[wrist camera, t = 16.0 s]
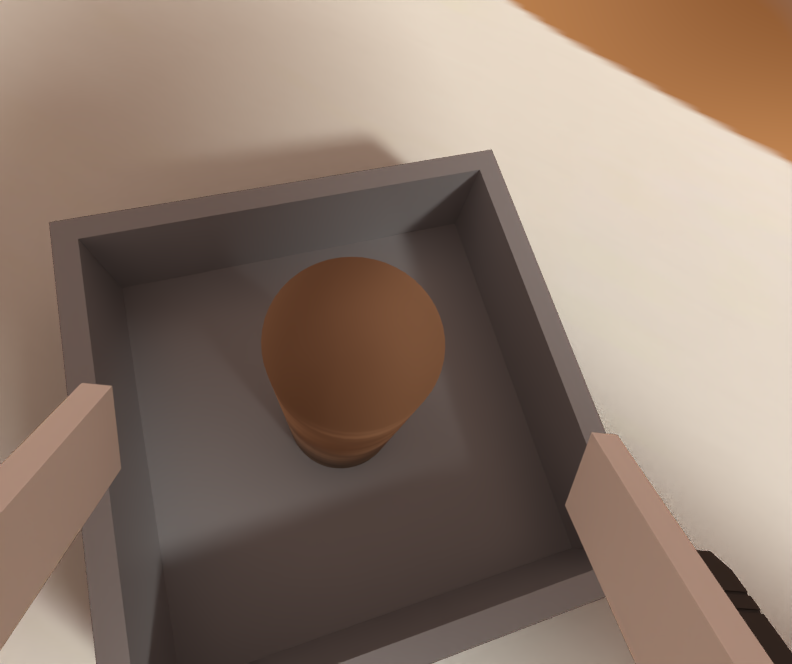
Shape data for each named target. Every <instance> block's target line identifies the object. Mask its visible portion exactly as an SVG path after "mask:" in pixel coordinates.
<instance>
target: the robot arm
mask: <svg viewBox="0 0 792 664" xmlns="http://www.w3.org/2000/svg"><path fill="white" fill-rule="evenodd" d="M120 470H121V462H120V453H119V444H118V435H117V426H116V417H115V408H114V399H113V390H112V386H108V385H98V384H88V383H81V384H80V385H79V386H78V387H77V388H76V389H75V390H74V391H73V392H72V393H71V394H70V395H69V396H68V397H67V398H66V399H65V400H64V401H63V402H62V403H61V404H60V405H59V406H58V407H57V408H56V409H55V410H54V411H53V412H52V413H51V414H50V415H49V416H48V417H47V418H46V419H45V420H44V421H43V423H42V424H41V425H40V426H39V427H38V428H37V429H36V430H35V431H34V432H33V433H32V434H31V435H30V436H29V437H28V438H27V439H26V440H25V441H24V442H23V443H22V444H21V445H20V446H19V447H18V448H17V449H16V450H15V451H14V452H13V453H12V454H11V455H10V456H9V457H8V458H7V459H6V460H5V461H4V462H3V463H2V464H1V465H0V650H1V649H2V647H3V646H4V644H5V643H6V641H7V640H8V638H9V637H10V635H11V634H12V632H13V631H14V629H15V628H16V626H17V625H18V623H19V622H20V620H21V619H22V617H23V616H24V614H25V613H26V611H27V610H28V608H29V607H30V605H31V604H32V602H33V601H34V599H35V598H36V596H37V595H38V593H39V591H40V590H41V588H42V587H43V585H44V584H45V582H46V581H47V579H48V578H49V576H50V575H51V573H52V572H53V570H54V569H55V567H56V566H57V564H58V563H59V561H60V560H61V558H62V557H63V555H64V554H65V552H66V551H67V549H68V548H69V546H70V545H71V543H72V542H73V540H74V539H75V537H76V536H77V534H78V533H79V531H80V530H81V528H82V527H83V525H84V524H85V522H86V521H87V519H88V518H89V516H90V515H91V513H92V512H93V510H94V509H95V507H96V506H97V504H98V503H99V501H100V500H101V498H102V497H103V495H104V494H105V492H106V491H107V489H108V488H109V486H110V485H111V483H112V482H113V480H114V479H115V477H116V476H117V474H118V473H119V471H120ZM565 507H566V509H567V511H568V513H569V516H570V518H571V520H572V522H573V525H574V527H575V529H576V531H577V534H578V536H579V538H580V540H581V543H582V545H583V547H584V549H585V552H586V554H587V556H588V558H589V561H590V563H591V565H592V567H593V570H594V572H595V574H596V576H597V579H598V581H599V583H600V585H601V588H602V590H603V592H604V594H605V597H606V599H607V601H608V603H609V606H610V608H611V610H612V612H613V614H614V617H615V619H616V621H617V623H618V626H619V628H620V630H621V632H622V635H623V637H624V639H625V641H626V644H627V646H628V648H629V650H630V653H631V655H632V657H633V659H634V662H635V664H792V652H791V651H790V650H789V648H788V647H787V645H786V644H785V643H784V641H783V640H782V639H781V637H780V636H779V635H778V633H777V632H776V630H775V629H774V628H773V626H772V625H771V624H770V622H769V621H768V619H767V618H766V617H765V615H764V614H761V613H760V608H759V607H758V606H757V604H756V603H755V602H754V600H753V599H752V597H751V596H748V595H747V591H746V589H745V588H744V586H743V585H742V584H741V582H740V581H739V580H738V578H737V577H736V575H735V574H734V573H733V571H732V570H731V569H730V568H729V567H727V566H726V565H725V564H724V563H723V562H722V561H721V560H719V559H718V558H717V557H716V556H715V555H714V554H713V553H712V552H710V551H700V550H696V549H695V548H694V546H693V545H692V543H691V542H690V540H689V539H688V538H687V536H686V535H685V533H684V532H683V530H682V529H681V527H680V526H679V524H678V523H677V521H676V520H675V518H674V517H673V516H672V514H671V513H670V511H669V510H668V508H667V507H666V505H665V504H664V502H663V501H662V499H661V498H660V497H659V495H658V494H657V492H656V491H655V489H654V488H653V486H652V485H651V483H650V482H649V480H648V479H647V478H646V476H645V475H644V473H643V472H642V470H641V469H640V467H639V466H638V464H637V463H636V461H635V460H634V459H633V457H632V456H631V454H630V453H629V451H628V450H627V448H626V447H625V445H624V444H623V442H622V441H621V439H620V438H619V437H618V435H615V434H605V433H594V432H591V435H590V438H589V441H588V443H587V446H586V449H585V452H584V454H583V457H582V460H581V463H580V465H579V468H578V471H577V474H576V476H575V479H574V482H573V485H572V487H571V490H570V493H569V496H568V498H567V501H566V504H565Z"/></svg>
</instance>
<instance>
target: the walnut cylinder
mask: <svg viewBox="0 0 792 664" xmlns="http://www.w3.org/2000/svg"><path fill="white" fill-rule="evenodd" d="M261 350H262V357H263V363H264V366H265V369H266V372H267V375H268V378H269V380H270V382H271V385H272V387H273V390H274V392H275V394H276V397H277V399H278V401H279V404H280V406H281V409H282V411H283V413H284V416H285V418H286V421H287V423H288V425H289V428H290V430H291V433H292V435H293V437H294V439H295V441H296V443H297V445H298V446H299V448H300V449H301V450H302V451H303V453H304V454H305V455H307V456H308V457H309V458H310V459H312V460H313V461H315V462H317V463H319V464H321V465H323V466H327V467H331V468H350V467H354V466H357V465H360V464H362V463H364V462H366V461H368V460H370V459H371V458H372V457H373V456H375V455H376V454H377V453H378V452H379V451H380V450H381V449H382V447H383V446H384V445H385V444H386V443H387V442H388V441H389V440H390V439H391V437H392V436H393V435H394V434H395V433H396V432H397V431H398V430H399V428H400V427H401V426H402V425H403V424H404V423H405V422H406V421H407V420H408V418H409V417H410V416H411V415H412V414H413V413H414V412H415V411H416V410H417V408H418V407H419V406H420V405H421V404H422V403H423V402H424V401H425V399H426V398H427V397H428V395H429V394H430V393H431V391H432V390H433V388H434V386H435V384H436V383H437V380H438V378H439V375H440V373H441V370H442V366H443V362H444V355H445V335H444V329H443V325H442V321H441V318H440V315H439V313H438V311H437V309H436V306H435V305H434V303H433V301H432V300H431V298H430V296H429V295H428V294H427V293H426V291H425V290H424V289H423V288H422V287H421V286H420V285H419V284H418V283H417V282H416V281H415V280H414V279H413V278H411V277H410V276H409V275H407V274H406V273H405V272H403V271H401V270H400V269H398V268H396V267H394V266H392V265H389V264H387V263H385V262H381V261H378V260H375V259H370V258H364V257H340V258H334V259H329V260H325V261H322V262H319V263H316V264H314V265H312V266H310V267H308V268H306V269H304V270H303V271H301V272H299V273H298V274H296V275H295V276H294V277H293V278H291V279H290V280H289V281H288V282H287V283H286V284H285V285H284V286H283V287H282V288H281V289H280V291H279V292H278V293H277V295H276V296H275V297H274V299H273V301H272V303H271V305H270V306H269V309H268V311H267V314H266V316H265V319H264V324H263V328H262V336H261Z"/></svg>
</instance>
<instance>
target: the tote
mask: <svg viewBox="0 0 792 664" xmlns="http://www.w3.org/2000/svg"><path fill="white" fill-rule="evenodd" d="M49 226H50V236H51V245H52V254H53V264H54V273H55V282H56V292H57V301H58V311H59V320H60V329H61V339H62V348H63V357H64V367H65V376H66V386H67V395H68V396H69V395H70V394H71V393H72V392H73V391H74V390H75V389H76V388H77V387H78V386H79V385H80V384H81V383H88V384H98V385H108V386H112V390H113V399H114V408H115V417H116V426H117V435H118V444H119V453H120V462H121V470H120V471H119V473H118V474H117V476H116V477H115V479H114V480H113V482H112V483H111V485H110V486H109V488H108V489H107V491H106V492H105V494H104V495H103V497H102V498H101V500H100V501H99V503H98V504H97V506H96V507H95V509H94V510H93V512H92V513H91V515H90V516H89V518H88V519H87V521H86V522H85V524H84V525H83V527H82V536H83V545H84V554H85V564H86V573H87V582H88V592H89V601H90V611H91V620H92V629H93V639H94V648H95V657H96V664H432V663H434V662H437V661H439V660H442V659H445V658H447V657H450V656H452V655H455V654H458V653H460V652H463V651H466V650H468V649H471V648H473V647H476V646H479V645H481V644H484V643H486V642H489V641H492V640H494V639H497V638H500V637H502V636H505V635H507V634H510V633H513V632H515V631H518V630H520V629H523V628H526V627H528V626H531V625H533V624H536V623H539V622H541V621H544V620H547V619H549V618H552V617H554V616H557V615H560V614H562V613H565V612H567V611H570V610H573V609H575V608H578V607H581V606H583V605H586V604H588V603H591V602H594V601H596V600H599V599H601V598H604V597H605V594H604V592H603V590H602V588H601V585H600V583H599V581H598V579H597V576H596V574H595V572H594V570H593V567H592V565H591V563H590V561H589V558H588V556H587V554H586V552H585V549H584V547H583V545H582V543H581V540H580V538H579V536H578V534H577V531H576V529H575V527H574V525H573V522H572V520H571V518H570V516H569V513H568V511H567V509H566V507H565V504H566V501H567V498H568V496H569V493H570V490H571V487H572V485H573V482H574V479H575V476H576V474H577V471H578V468H579V465H580V463H581V460H582V457H583V454H584V452H585V449H586V446H587V443H588V441H589V438H590V435H591V432H594V433H605V434H606V432H605V430H604V427H603V425H602V422H601V420H600V417H599V415H598V412H597V410H596V407H595V405H594V402H593V400H592V397H591V395H590V392H589V390H588V388H587V385H586V383H585V380H584V378H583V375H582V373H581V370H580V368H579V365H578V363H577V360H576V358H575V355H574V353H573V350H572V348H571V345H570V343H569V340H568V338H567V335H566V333H565V330H564V328H563V325H562V323H561V320H560V318H559V315H558V313H557V310H556V308H555V305H554V303H553V300H552V298H551V295H550V293H549V291H548V288H547V286H546V283H545V281H544V278H543V276H542V273H541V271H540V268H539V266H538V263H537V261H536V258H535V256H534V253H533V251H532V248H531V246H530V243H529V241H528V238H527V236H526V233H525V231H524V228H523V226H522V223H521V221H520V218H519V216H518V213H517V211H516V208H515V206H514V203H513V201H512V199H511V196H510V194H509V191H508V189H507V186H506V184H505V181H504V179H503V176H502V174H501V171H500V169H499V166H498V164H497V161H496V159H495V156H494V154H493V151H492V150H486V151H480V152H474V153H468V154H462V155H456V156H449V157H443V158H437V159H431V160H425V161H419V162H413V163H407V164H401V165H395V166H389V167H383V168H377V169H370V170H364V171H358V172H352V173H346V174H340V175H334V176H328V177H322V178H316V179H310V180H304V181H297V182H291V183H285V184H279V185H273V186H267V187H261V188H255V189H249V190H243V191H237V192H231V193H225V194H218V195H212V196H206V197H200V198H194V199H188V200H182V201H176V202H170V203H164V204H158V205H152V206H145V207H139V208H133V209H127V210H121V211H115V212H109V213H103V214H97V215H91V216H85V217H79V218H73V219H66V220H60V221H54V222H49ZM340 257H364V258H370V259H375V260H378V261H381V262H385V263H387V264H389V265H392V266H394V267H396V268H398V269H400V270H401V271H403V272H405V273H406V274H407V275H409V276H410V277H411V278H413V279H414V280H415V281H416V282H417V283H418V284H419V285H420V286H421V287H422V288H423V289H424V290H425V291H426V293H427V294H428V295H429V296H430V298H431V300H432V301H433V303H434V305H435V306H436V309H437V311H438V313H439V315H440V318H441V321H442V325H443V329H444V335H445V355H444V362H443V366H442V370H441V373H440V375H439V378H438V380H437V383H436V384H435V386H434V388H433V390H432V391H431V393H430V394H429V395H428V397H427V398H426V399H425V401H424V402H423V403H422V404H421V405H420V406H419V407H418V408H417V410H416V411H415V412H414V413H413V414H412V415H411V416H410V417H409V418H408V420H407V421H406V422H405V423H404V424H403V425H402V426H401V427H400V428H399V430H398V431H397V432H396V433H395V434H394V435H393V436H392V437H391V439H390V440H389V441H388V442H387V443H386V444H385V445H384V446H383V447H382V449H381V450H380V451H379V452H378V453H377V454H376V455H375V456H373V457H372V458H371V459H370V460H368V461H366V462H364V463H362V464H360V465H357V466H354V467H350V468H331V467H327V466H323V465H321V464H319V463H317V462H315V461H313V460H312V459H310V458H309V457H308V456H307V455H305V454H304V453H303V451H302V450H301V449H300V448H299V446H298V445H297V443H296V441H295V439H294V437H293V435H292V433H291V430H290V428H289V425H288V423H287V421H286V418H285V416H284V413H283V411H282V409H281V406H280V404H279V401H278V399H277V397H276V394H275V392H274V390H273V387H272V385H271V382H270V380H269V378H268V375H267V372H266V369H265V366H264V363H263V357H262V350H261V336H262V328H263V324H264V319H265V316H266V314H267V311H268V309H269V306H270V305H271V303H272V301H273V299H274V297H275V296H276V295H277V293H278V292H279V291H280V289H281V288H282V287H283V286H284V285H285V284H286V283H287V282H288V281H289V280H290V279H291V278H293V277H294V276H295V275H296V274H298V273H299V272H301V271H303V270H304V269H306V268H308V267H310V266H312V265H314V264H316V263H319V262H322V261H325V260H329V259H334V258H340Z"/></svg>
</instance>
